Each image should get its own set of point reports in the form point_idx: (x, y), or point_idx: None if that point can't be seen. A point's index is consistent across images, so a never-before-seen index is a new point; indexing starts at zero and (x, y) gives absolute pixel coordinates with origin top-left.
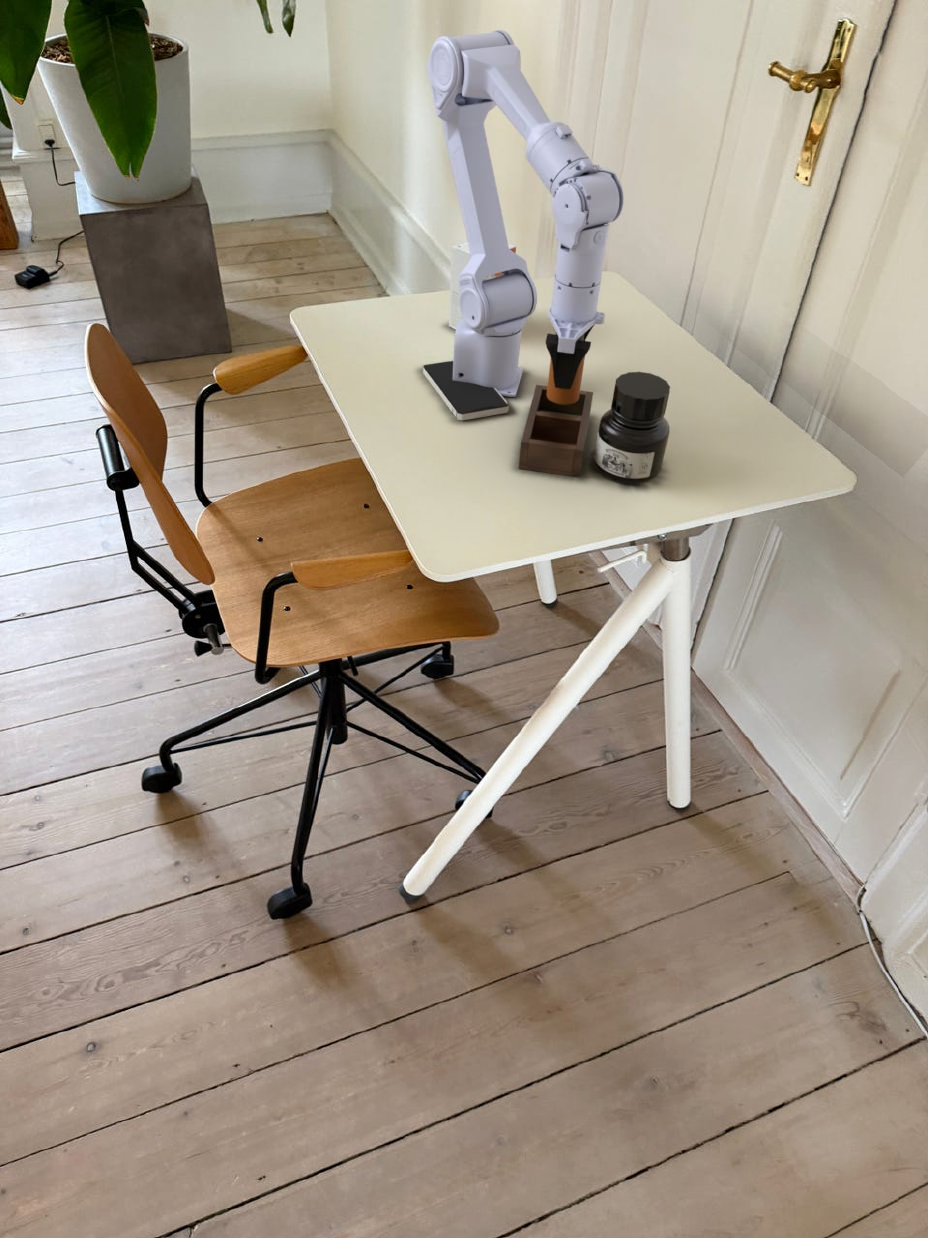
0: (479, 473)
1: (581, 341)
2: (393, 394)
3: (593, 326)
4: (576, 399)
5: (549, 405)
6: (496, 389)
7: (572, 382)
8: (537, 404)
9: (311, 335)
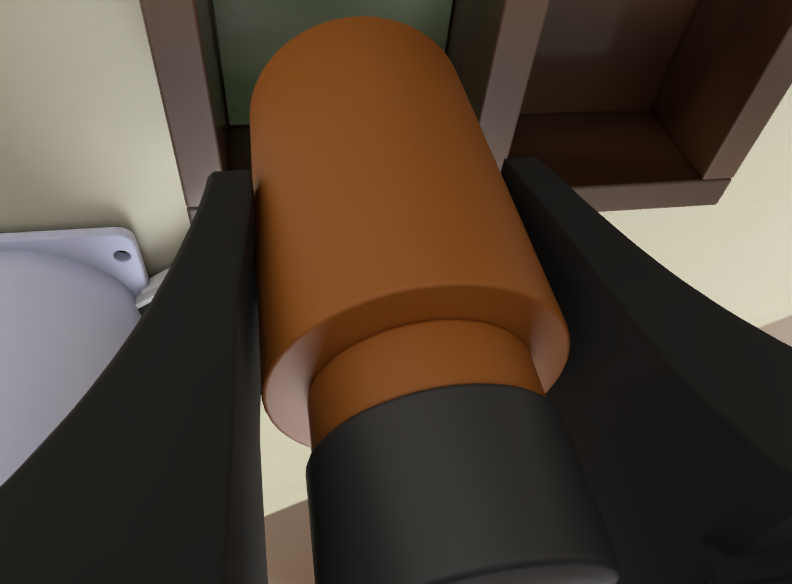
0: (660, 222)
1: (782, 534)
2: (272, 448)
3: (224, 540)
4: (422, 39)
5: (221, 105)
6: (145, 299)
7: (569, 188)
8: None
9: None
